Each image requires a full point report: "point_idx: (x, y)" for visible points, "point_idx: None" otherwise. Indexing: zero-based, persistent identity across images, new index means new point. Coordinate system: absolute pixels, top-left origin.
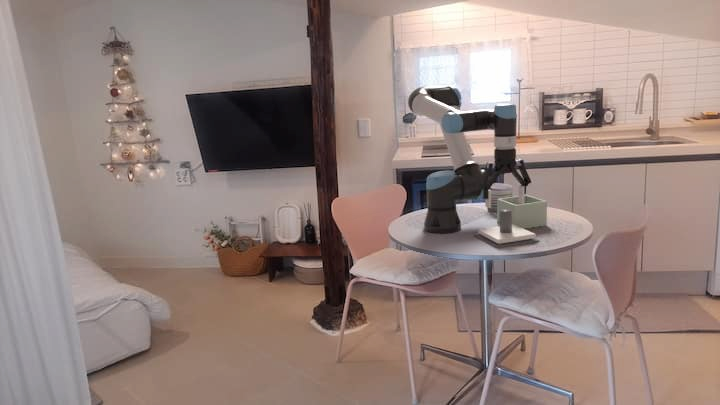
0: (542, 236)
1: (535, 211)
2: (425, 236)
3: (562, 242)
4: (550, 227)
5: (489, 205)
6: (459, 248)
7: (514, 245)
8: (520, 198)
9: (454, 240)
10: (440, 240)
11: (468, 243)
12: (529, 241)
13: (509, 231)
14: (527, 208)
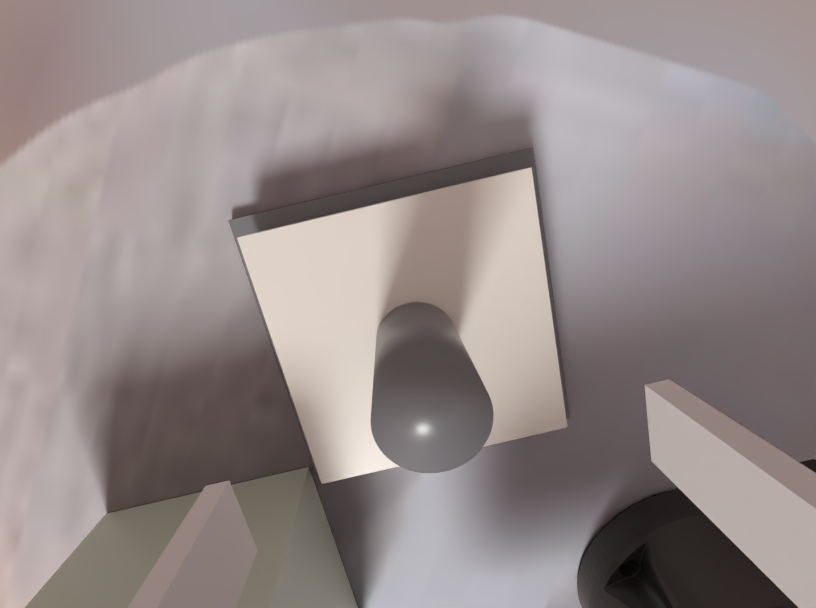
0: (184, 320)
1: (119, 586)
2: (811, 459)
3: (87, 167)
4: (92, 477)
5: (686, 395)
6: (737, 203)
7: (407, 177)
8: (221, 561)
9: (700, 358)
10: (770, 375)
11: (650, 286)
12: (297, 211)
13: (404, 306)
14: None
